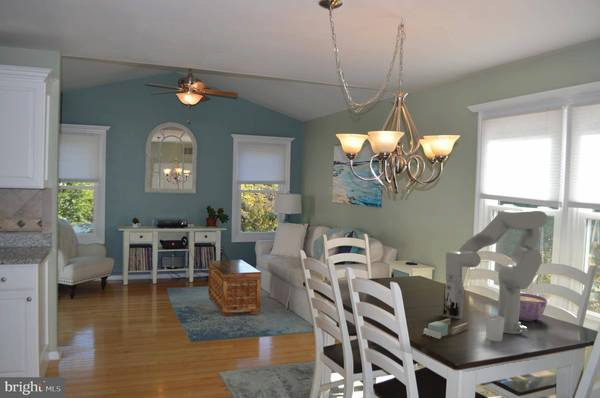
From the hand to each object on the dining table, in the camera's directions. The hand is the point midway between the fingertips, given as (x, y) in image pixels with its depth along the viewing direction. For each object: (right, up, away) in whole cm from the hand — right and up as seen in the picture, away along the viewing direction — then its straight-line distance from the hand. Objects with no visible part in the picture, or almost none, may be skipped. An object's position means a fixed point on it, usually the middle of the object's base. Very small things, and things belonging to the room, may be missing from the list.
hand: (454, 315), depth 239 cm
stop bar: (-13, -7, -11) cm, 19 cm away
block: (-10, -7, -8) cm, 15 cm away
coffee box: (+6, -6, +24) cm, 25 cm away
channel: (-2, -7, 0) cm, 7 cm away
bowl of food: (+45, -8, +25) cm, 53 cm away
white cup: (+15, -8, -12) cm, 20 cm away
